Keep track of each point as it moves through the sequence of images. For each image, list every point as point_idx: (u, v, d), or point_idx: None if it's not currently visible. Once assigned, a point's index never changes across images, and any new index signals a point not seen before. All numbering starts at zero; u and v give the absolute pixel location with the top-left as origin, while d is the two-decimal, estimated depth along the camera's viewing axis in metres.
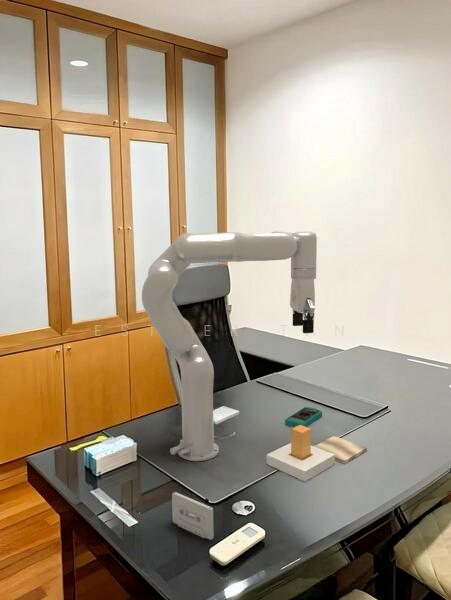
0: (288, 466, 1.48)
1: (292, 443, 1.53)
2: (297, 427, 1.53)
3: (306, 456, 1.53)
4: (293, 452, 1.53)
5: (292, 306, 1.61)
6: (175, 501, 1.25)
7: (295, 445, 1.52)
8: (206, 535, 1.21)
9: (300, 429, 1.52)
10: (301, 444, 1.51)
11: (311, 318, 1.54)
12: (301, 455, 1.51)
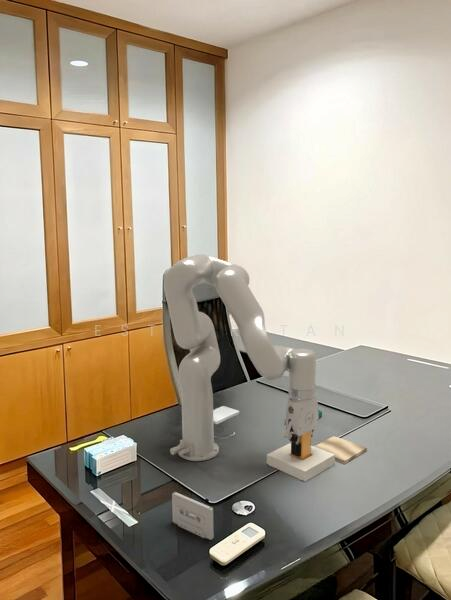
0: (288, 466, 1.48)
1: None
2: None
3: (306, 456, 1.52)
4: None
5: (305, 430, 1.49)
6: (175, 501, 1.25)
7: None
8: (206, 535, 1.21)
9: None
10: (301, 443, 1.51)
11: None
12: (301, 455, 1.51)
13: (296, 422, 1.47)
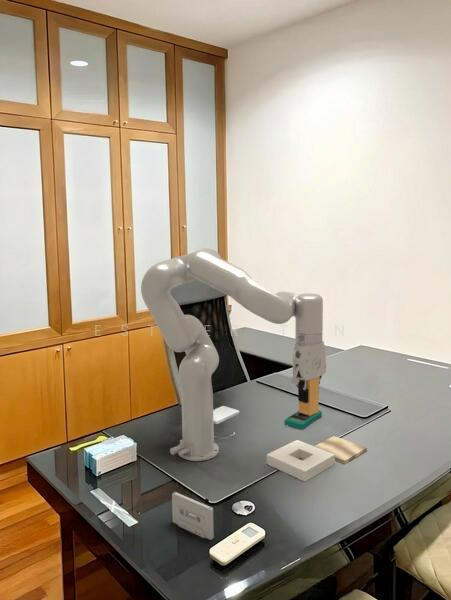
0: (288, 466, 1.48)
1: None
2: None
3: (314, 403, 1.51)
4: None
5: (312, 376, 1.48)
6: (175, 501, 1.25)
7: None
8: (206, 535, 1.21)
9: None
10: (308, 389, 1.49)
11: None
12: (309, 401, 1.49)
13: (303, 366, 1.45)
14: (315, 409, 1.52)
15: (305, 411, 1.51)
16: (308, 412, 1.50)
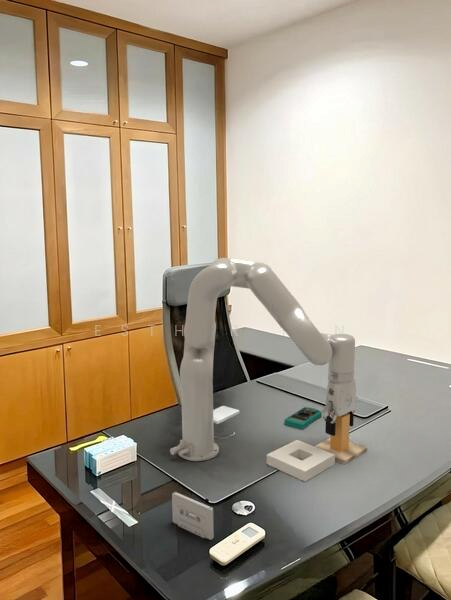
0: (288, 466, 1.48)
1: None
2: None
3: (345, 440, 1.60)
4: (332, 436, 1.61)
5: (345, 411, 1.57)
6: (175, 501, 1.25)
7: (335, 430, 1.60)
8: (206, 535, 1.21)
9: None
10: (340, 428, 1.58)
11: None
12: (341, 439, 1.59)
13: (336, 403, 1.55)
14: (346, 445, 1.61)
15: (336, 448, 1.60)
16: (339, 448, 1.60)
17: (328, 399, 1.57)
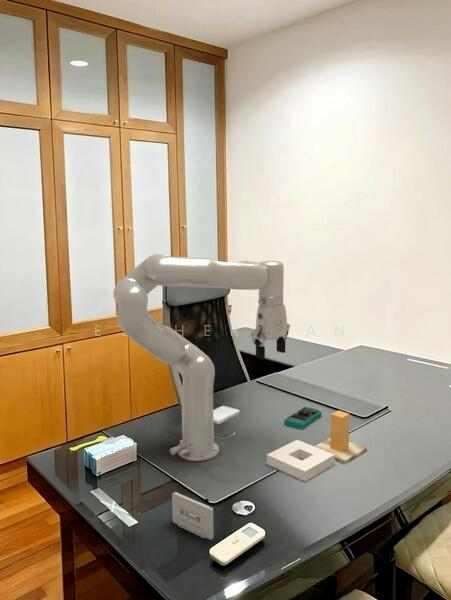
0: (288, 466, 1.48)
1: (331, 428, 1.61)
2: (336, 412, 1.61)
3: (345, 440, 1.60)
4: (332, 436, 1.61)
5: (274, 336, 1.61)
6: (175, 501, 1.25)
7: (334, 430, 1.60)
8: (206, 535, 1.21)
9: (340, 415, 1.60)
10: (340, 428, 1.58)
11: None
12: (340, 439, 1.59)
13: (265, 326, 1.59)
14: (346, 445, 1.61)
15: (336, 448, 1.60)
16: (339, 448, 1.60)
17: (258, 323, 1.61)
